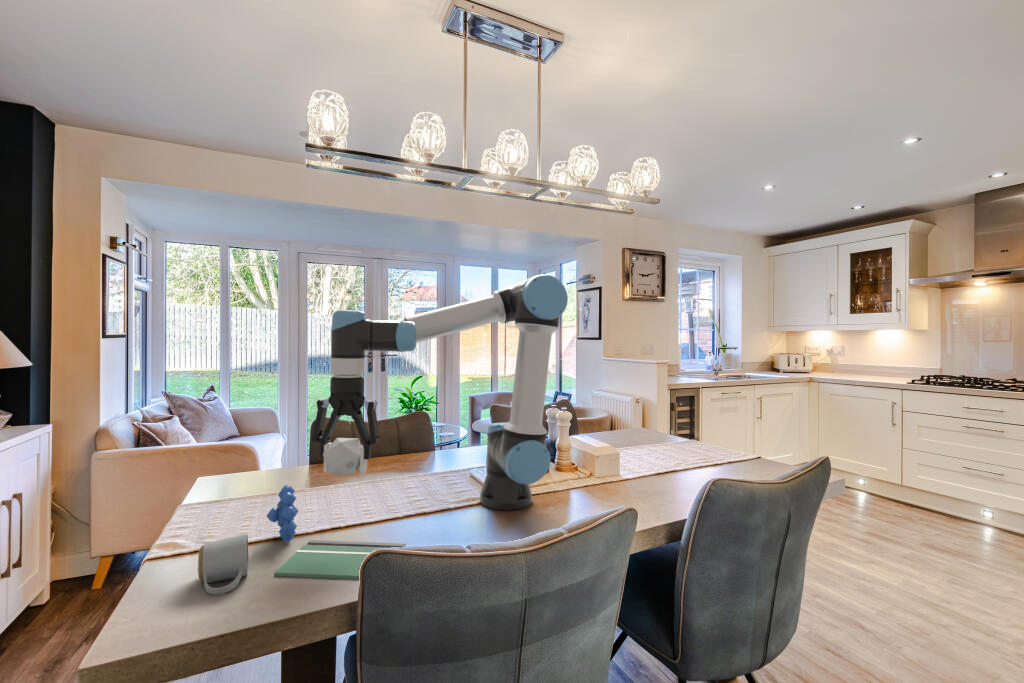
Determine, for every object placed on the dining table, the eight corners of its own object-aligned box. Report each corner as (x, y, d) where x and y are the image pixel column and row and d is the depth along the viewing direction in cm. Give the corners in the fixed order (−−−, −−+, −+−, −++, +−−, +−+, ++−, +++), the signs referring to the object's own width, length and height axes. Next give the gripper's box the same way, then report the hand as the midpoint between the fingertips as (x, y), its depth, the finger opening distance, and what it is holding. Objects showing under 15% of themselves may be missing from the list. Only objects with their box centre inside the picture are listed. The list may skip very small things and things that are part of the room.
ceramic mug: (201, 573, 91) (201, 535, 90) (248, 564, 95) (249, 527, 95) (195, 602, 82) (195, 559, 81) (248, 590, 86) (248, 549, 85)
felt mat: (401, 551, 102) (401, 548, 102) (384, 579, 90) (385, 576, 90) (303, 547, 102) (303, 544, 102) (274, 575, 90) (274, 572, 90)
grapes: (264, 532, 110) (265, 482, 110) (295, 526, 113) (296, 478, 113) (267, 552, 100) (268, 497, 100) (301, 545, 103) (302, 492, 103)
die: (338, 484, 102) (367, 446, 105) (308, 461, 104) (337, 424, 107) (351, 486, 110) (378, 451, 113) (324, 465, 112) (350, 430, 115)
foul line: (404, 544, 105) (404, 543, 105) (403, 547, 104) (403, 545, 104) (310, 541, 106) (310, 540, 106) (307, 543, 104) (307, 542, 104)
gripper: (395, 375, 111) (393, 469, 112) (312, 373, 113) (310, 465, 113) (385, 378, 104) (383, 478, 104) (296, 375, 105) (294, 474, 105)
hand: (345, 471), depth 108 cm, fingers closed on die, 8 cm apart
